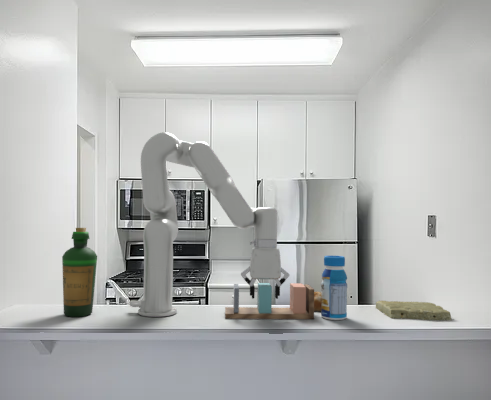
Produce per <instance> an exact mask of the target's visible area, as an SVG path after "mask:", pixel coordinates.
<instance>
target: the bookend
mask: <svg viewBox="0 0 491 400" xmlns="http://www.w3.org/2000/svg"><path fill="white" fill-rule="evenodd" d="M232 303H233V306H232V307H233V308H234V313H239V306H240V287H239V283H233V302H232Z"/></svg>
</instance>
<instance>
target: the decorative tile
mask: <svg viewBox="0 0 491 400" xmlns="http://www.w3.org/2000/svg"><path fill="white" fill-rule="evenodd" d="M375 309H377V310H379V311H380V312H381V313H383V314H384V315H385V316H387V317H388V318H389V319H406V320H407V319H410V320H421V321H425V320H427V321H452V316H451V312H450V311H449V310H447V309H444V308H443V307H442V306H441V305H436V304H435V303H433V302H426V301H398V300H396V301H393V300H392V301H388V300H378V301H376V302H375Z"/></svg>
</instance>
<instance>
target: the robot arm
mask: <svg viewBox="0 0 491 400" xmlns="http://www.w3.org/2000/svg"><path fill="white" fill-rule="evenodd" d="M167 162H169V163H172V164H177V165H182V166H185V167H189V168H193V169H195V171H196V172H197V174H198V175H199V177H200V178H201V180H202V181H203V183H204V184H205V185H206V187H207V188H208V190H209V191H210V194H211V195H212V196H213V197H214V198H215V200H216V201H217V203H218V204H219V206H220V207H221V208H222V209H223V211H224V212H225V214H226V216H227V217H228V219H229V220H230V222H231V223H232V224H233V226H234V227H235V228H238V229H240V230H246V229H253V228H254V233H253V235H254V239H253V240H250V241H249V245H252V246H253V247H252V248H251V252H250V262H249V263H250V264H249V266H248V267H247V268H246V269H244V270H243V271H242V272H241V273H240V276H241V277H242V279H243V280H244V282H246V283H247V285H249V296H251V299H252V300H254V299H255V295H256V294H255V291H256V290H255V285H254V284H255V282H256V281H257V280H274V283H275V285H274V298H275V299H276V300H278V299H279V297H280V296H281V286H282V285H283V284H284V283H285V282H286V281H287V279H288V278H289V277H290V274H289V272H287V271H286V270H285V269H284V268H283V267H282V265H281V264H282V263H281V253H280V248H278V246H277V245H278V243H277V242H278V210H277V209H276V208H275V207H267V206H266V207H262V206H261V207H257V208H255V207H250V206H249V203H248V202H247V201H246V199H245V197H243V195H242V194H241V191H240V190H239V189H238V187H237V186H236V185H235V182H234V180H233V178H232V176H231V175H230V173H229V172H228V170H227V169H226V167H225V166H224V164H223V162H221V160H220V159H219V157H218V156H217V154H216V153H215V152H214V150H213V149H212V147H211V145H209V144H208V143H207V142H206V141H195V142H194V143H192V142H188V141H183V140H179V139H178V138H177V137H176V136H175V135H174V134H173V133H170V132H164V131H163V132H158V133H156V134H154V135H153V136H152V137H150V138H149V139H148V140H147V141H146V142H145V143H144V145H143V147H142V150H141V153H140V174H141V187H142V188H141V189H142V202H143V206H144V208H145V209H146V211H148V212H149V217H150V220H149V221H148V222H147V223H146V225H145V227H144V228H143V233H142V235H143V237H142V239H143V240H142V241H143V255H144V257H143V294H142V295H143V297H142V299H139V300H130V301H129V306H130V307H131V308H138V310H137V314H138V315H140V316H142V317H150V318H153V317H154V318H155V317H156V318H161V317H168V316H172V315H173V316H174V315H175V314H177V312H178V311H177V308H176V307H174V306H173V287H174V286H173V283H174V280H173V279H174V274H173V273H174V248H173V247H174V245H173V244H174V243H173V242H174V241H175V240H176V239H177V237H178V234H179V225H178V224H179V223H178V213H177V212H178V211H177V203H176V197H175V195H174V194H173V192H172V191H171V190H170V189H169V181H168V171H167ZM248 274H249V276H250V278H251V279H250V278H249V277H248V276H247V275H248ZM281 275H283V276H282V277H281Z"/></svg>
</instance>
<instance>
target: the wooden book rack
mask: <svg viewBox="0 0 491 400" xmlns="http://www.w3.org/2000/svg"><path fill="white" fill-rule="evenodd" d="M303 285H304V286H305V287H306V314H293V312H292V311H291V309H290V307H271V313H259V312H258V308H257V307H256V306H255V307H252V306H251V307H249V306H248V307H247V306H246V307H244V306H243V307H241V306H240V307H239V313H234V308H233V306H231V307H230V306H229V307H228V306H227V307H224V309H225V310H224V311H225V312H224V317H225V319H229V320H230V319H233V320H234V319H235V320H237V319H241V320H242V319H244V320H245V319H249V320H250V319H252V320H253V319H255V320H256V319H257V320H258V319H259V320H261V319H262V320H264V319H266V320H267V319H268V320H269V319H270V320H273V319H274V320H277V319H279V320H280V319H281V320H314V319H315V311H314V292H315V288H313V287H312V286H311V285H309V284H307V283H306V284H303Z"/></svg>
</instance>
